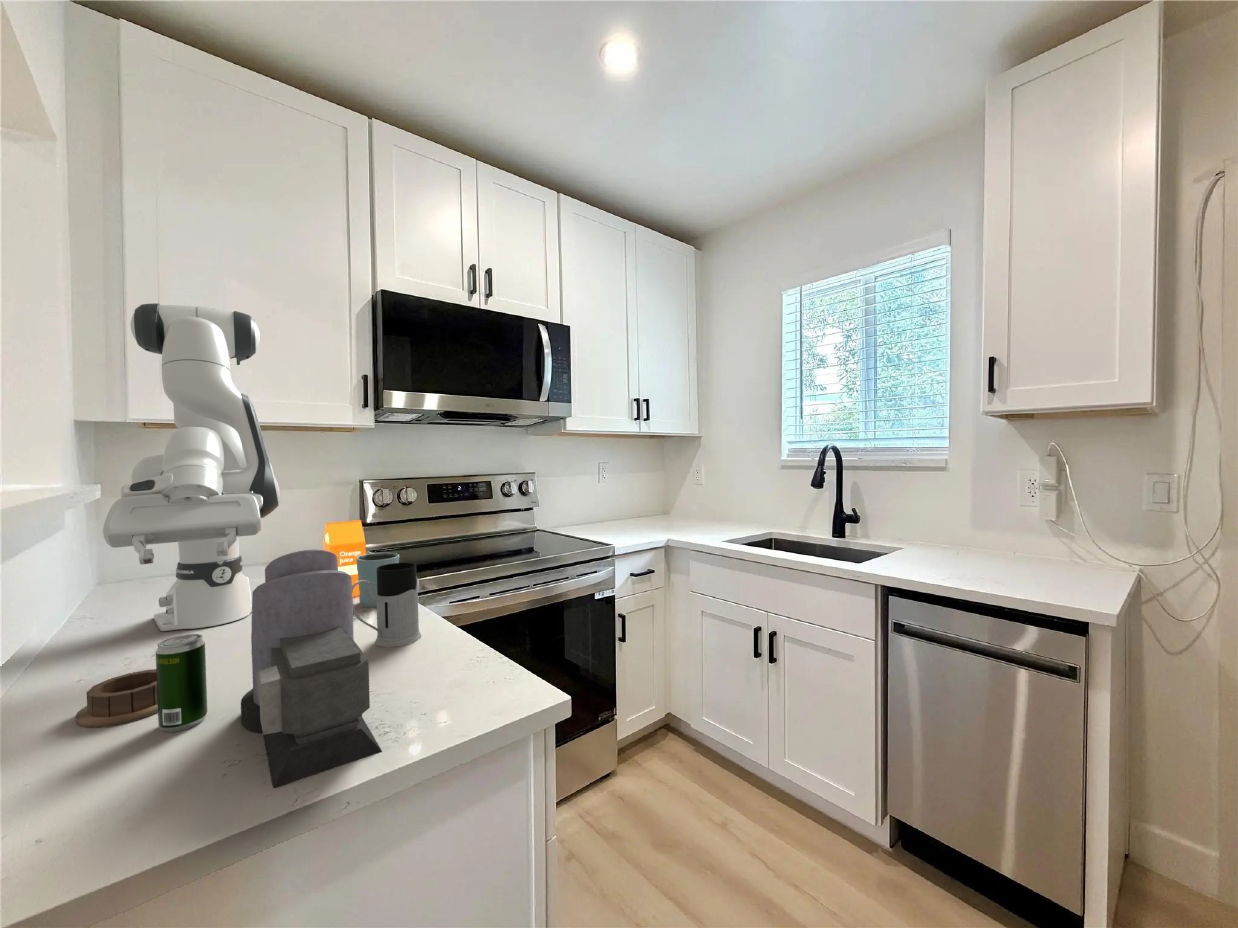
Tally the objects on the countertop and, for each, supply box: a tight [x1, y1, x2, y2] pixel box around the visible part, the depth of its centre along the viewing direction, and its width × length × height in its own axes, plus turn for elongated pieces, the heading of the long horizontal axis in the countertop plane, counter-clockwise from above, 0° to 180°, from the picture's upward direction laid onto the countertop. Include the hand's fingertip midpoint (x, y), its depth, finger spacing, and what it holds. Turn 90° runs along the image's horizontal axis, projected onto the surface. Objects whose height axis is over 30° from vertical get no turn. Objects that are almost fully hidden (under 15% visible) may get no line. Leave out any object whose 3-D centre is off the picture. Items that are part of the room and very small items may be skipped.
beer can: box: [155, 633, 208, 733], centre depth 74 cm, size 5×5×12 cm
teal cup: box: [356, 551, 400, 608], centre depth 134 cm, size 10×10×12 cm
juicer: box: [240, 549, 383, 790], centre depth 75 cm, size 30×16×24 cm, turn 38°
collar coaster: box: [75, 668, 158, 728], centre depth 80 cm, size 12×12×4 cm
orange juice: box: [323, 519, 367, 598], centre depth 142 cm, size 8×9×20 cm
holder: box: [352, 562, 422, 648], centre depth 105 cm, size 9×14×15 cm, turn 146°
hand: (185, 557), depth 83 cm, fingers open, 8 cm apart
